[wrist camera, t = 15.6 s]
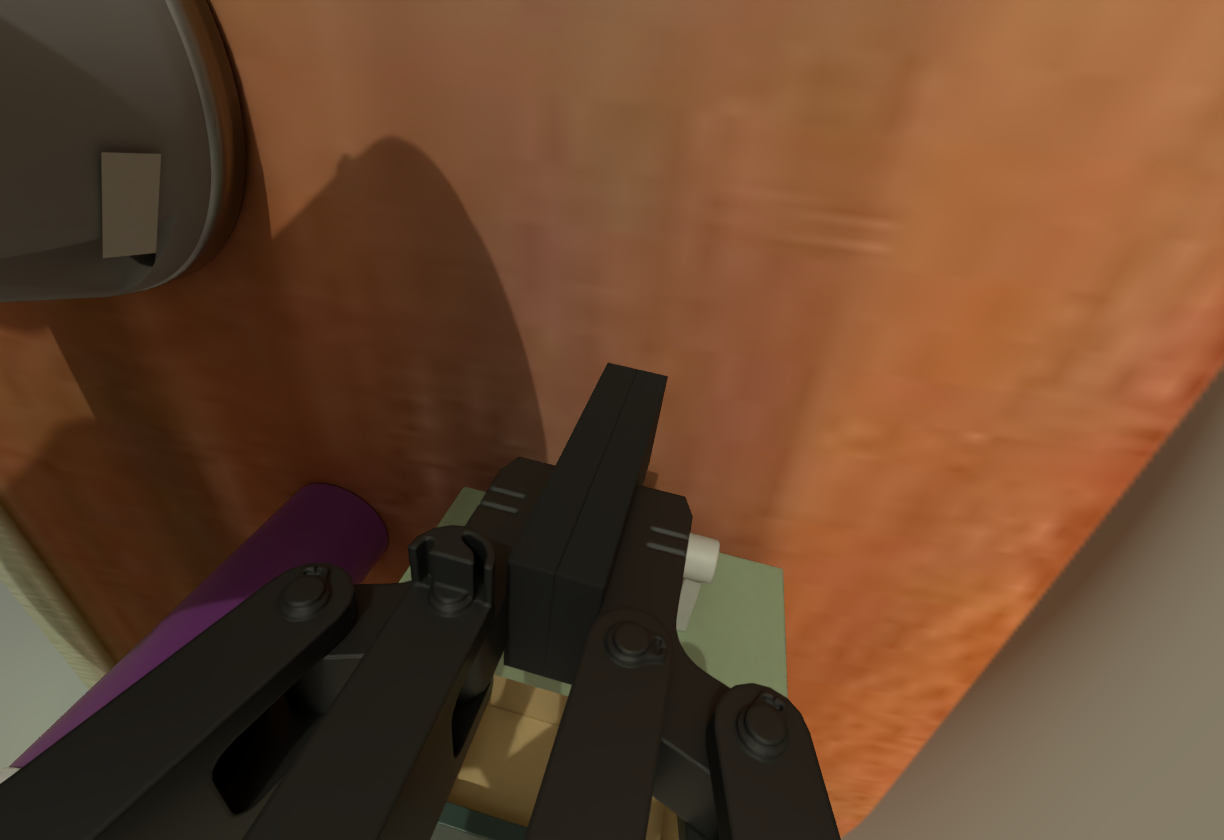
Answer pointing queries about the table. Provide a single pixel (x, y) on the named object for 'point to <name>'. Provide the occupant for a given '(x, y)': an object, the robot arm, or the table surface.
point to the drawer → (533, 705)
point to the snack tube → (241, 587)
